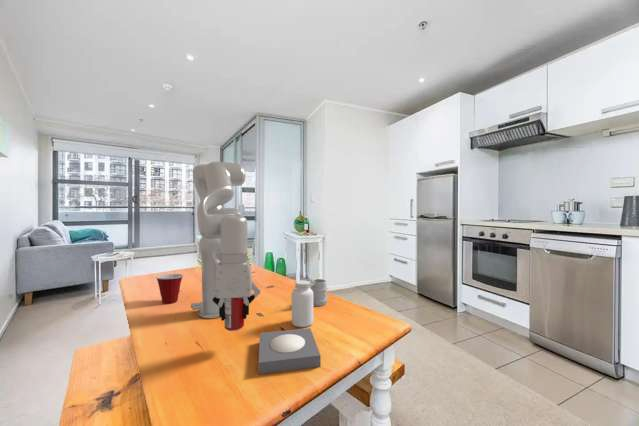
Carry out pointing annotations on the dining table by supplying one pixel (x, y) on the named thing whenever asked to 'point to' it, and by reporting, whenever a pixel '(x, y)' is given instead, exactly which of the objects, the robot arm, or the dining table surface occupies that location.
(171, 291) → the plastic cup
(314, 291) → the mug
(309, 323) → the pill bottle
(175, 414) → the dining table surface
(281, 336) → the base
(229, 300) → the soda can
